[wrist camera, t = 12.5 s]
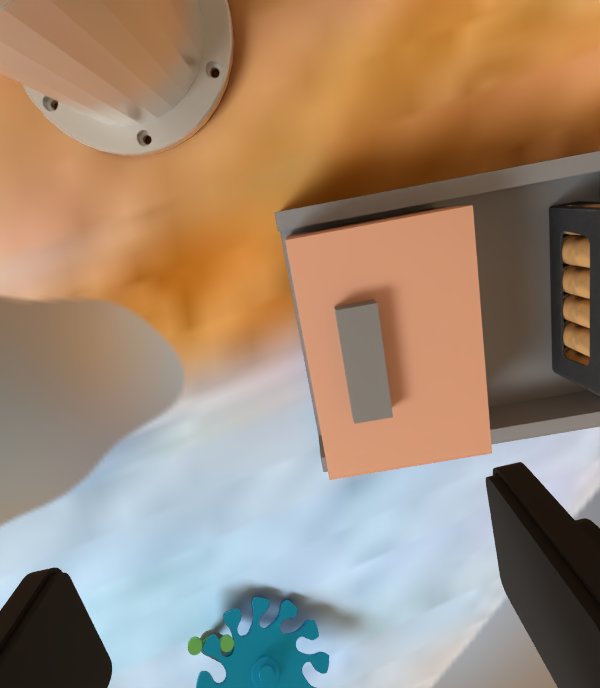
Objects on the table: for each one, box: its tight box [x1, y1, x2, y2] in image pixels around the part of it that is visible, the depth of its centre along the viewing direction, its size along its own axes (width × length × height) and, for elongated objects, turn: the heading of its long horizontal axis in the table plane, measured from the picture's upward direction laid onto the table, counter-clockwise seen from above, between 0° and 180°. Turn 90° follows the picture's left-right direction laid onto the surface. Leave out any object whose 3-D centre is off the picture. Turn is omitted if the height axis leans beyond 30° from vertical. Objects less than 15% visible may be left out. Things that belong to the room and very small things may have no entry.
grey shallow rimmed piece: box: [275, 151, 600, 472], centre depth 29 cm, size 20×16×4 cm
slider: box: [285, 205, 492, 480], centre depth 26 cm, size 9×13×7 cm
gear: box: [188, 597, 329, 688], centre depth 36 cm, size 11×6×10 cm
